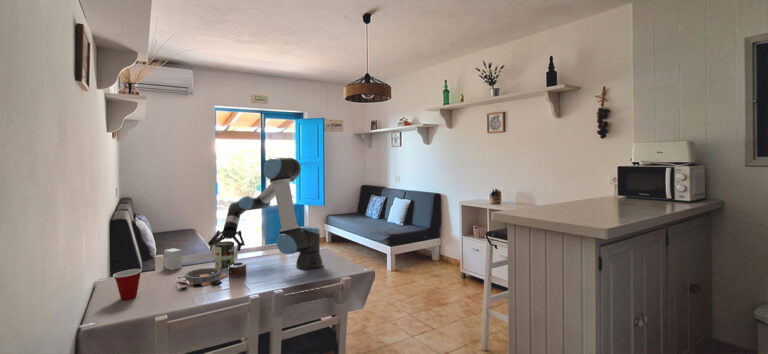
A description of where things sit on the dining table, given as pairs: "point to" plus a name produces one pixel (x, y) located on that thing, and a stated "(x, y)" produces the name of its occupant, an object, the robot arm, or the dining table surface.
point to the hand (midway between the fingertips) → (223, 255)
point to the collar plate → (204, 275)
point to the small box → (173, 259)
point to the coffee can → (224, 255)
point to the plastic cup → (128, 283)
